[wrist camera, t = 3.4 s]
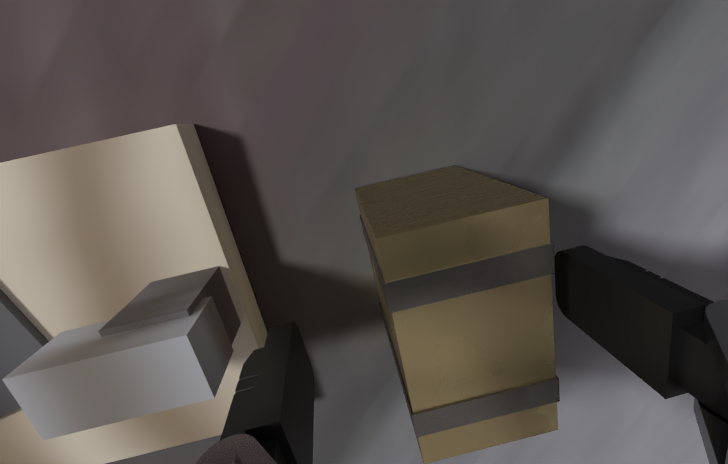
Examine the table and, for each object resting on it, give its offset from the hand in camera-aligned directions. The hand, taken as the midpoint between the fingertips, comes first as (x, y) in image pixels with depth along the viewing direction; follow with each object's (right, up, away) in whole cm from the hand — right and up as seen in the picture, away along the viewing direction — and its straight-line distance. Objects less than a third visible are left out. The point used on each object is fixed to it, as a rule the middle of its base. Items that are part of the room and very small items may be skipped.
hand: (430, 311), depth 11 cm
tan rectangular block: (0, +1, +4) cm, 4 cm away
